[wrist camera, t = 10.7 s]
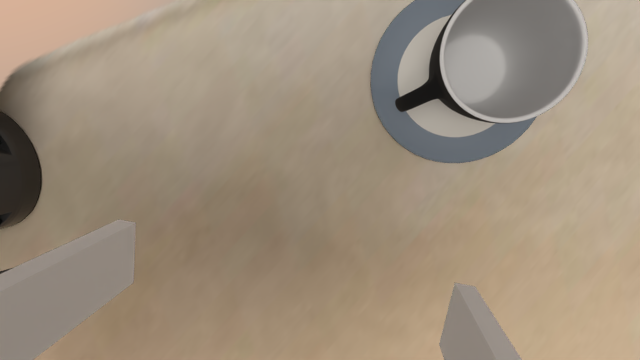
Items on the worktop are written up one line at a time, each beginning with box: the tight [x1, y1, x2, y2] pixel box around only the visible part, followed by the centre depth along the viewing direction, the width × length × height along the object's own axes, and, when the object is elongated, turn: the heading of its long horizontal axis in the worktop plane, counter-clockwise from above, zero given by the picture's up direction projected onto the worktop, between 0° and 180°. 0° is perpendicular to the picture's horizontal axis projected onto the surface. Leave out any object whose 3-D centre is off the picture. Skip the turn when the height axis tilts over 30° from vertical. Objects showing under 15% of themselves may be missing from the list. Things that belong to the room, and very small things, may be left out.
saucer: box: [371, 0, 537, 163], centre depth 33 cm, size 16×16×1 cm
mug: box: [395, 0, 588, 123], centre depth 28 cm, size 12×9×10 cm
